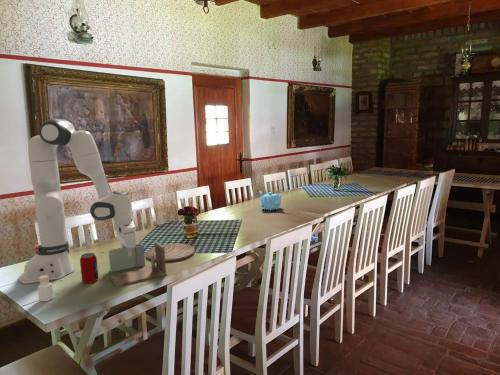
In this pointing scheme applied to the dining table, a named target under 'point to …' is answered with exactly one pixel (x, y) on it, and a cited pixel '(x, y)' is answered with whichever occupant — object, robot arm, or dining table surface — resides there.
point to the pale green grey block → (126, 258)
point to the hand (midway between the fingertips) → (127, 252)
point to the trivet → (173, 252)
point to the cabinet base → (144, 270)
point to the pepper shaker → (45, 289)
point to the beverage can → (89, 267)
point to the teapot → (270, 201)
